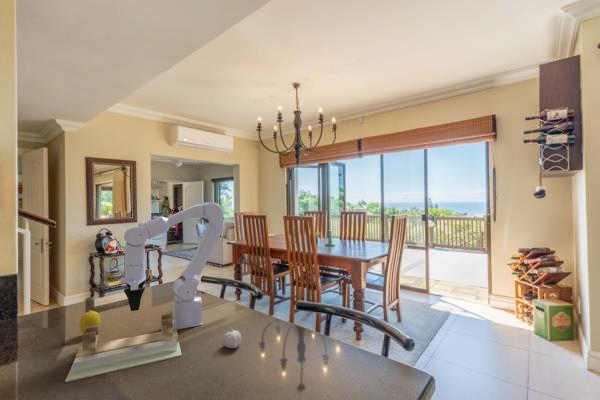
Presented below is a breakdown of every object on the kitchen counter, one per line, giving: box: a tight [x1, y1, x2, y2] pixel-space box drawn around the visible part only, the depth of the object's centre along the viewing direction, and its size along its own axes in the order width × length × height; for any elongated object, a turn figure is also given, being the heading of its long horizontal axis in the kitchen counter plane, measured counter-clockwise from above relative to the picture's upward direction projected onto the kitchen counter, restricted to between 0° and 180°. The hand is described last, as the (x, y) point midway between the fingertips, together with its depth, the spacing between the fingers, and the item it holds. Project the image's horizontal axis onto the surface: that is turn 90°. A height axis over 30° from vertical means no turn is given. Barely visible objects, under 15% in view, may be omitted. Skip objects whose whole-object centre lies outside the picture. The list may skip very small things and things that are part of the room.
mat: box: [64, 341, 182, 383], centre depth 80 cm, size 26×8×1 cm, turn 117°
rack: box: [74, 313, 179, 359], centre depth 89 cm, size 26×6×6 cm, turn 117°
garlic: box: [222, 327, 242, 349], centre depth 88 cm, size 6×5×5 cm
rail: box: [72, 338, 178, 373], centre depth 80 cm, size 24×3×3 cm, turn 117°
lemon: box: [79, 309, 101, 334], centre depth 95 cm, size 6×6×8 cm
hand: (135, 306), depth 95 cm, fingers open, 7 cm apart
